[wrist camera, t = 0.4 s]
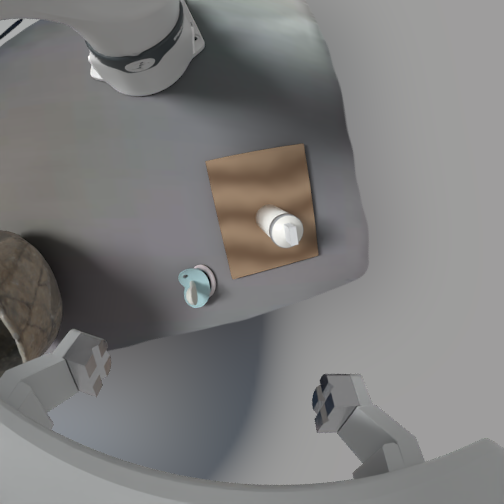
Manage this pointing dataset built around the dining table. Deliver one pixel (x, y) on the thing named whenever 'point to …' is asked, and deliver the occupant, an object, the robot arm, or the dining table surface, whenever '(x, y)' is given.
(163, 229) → the dining table surface
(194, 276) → the pacifier
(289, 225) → the white bar-topped cylinder
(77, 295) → the dining table surface
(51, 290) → the pot
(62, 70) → the dining table surface
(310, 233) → the board
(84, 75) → the dining table surface
